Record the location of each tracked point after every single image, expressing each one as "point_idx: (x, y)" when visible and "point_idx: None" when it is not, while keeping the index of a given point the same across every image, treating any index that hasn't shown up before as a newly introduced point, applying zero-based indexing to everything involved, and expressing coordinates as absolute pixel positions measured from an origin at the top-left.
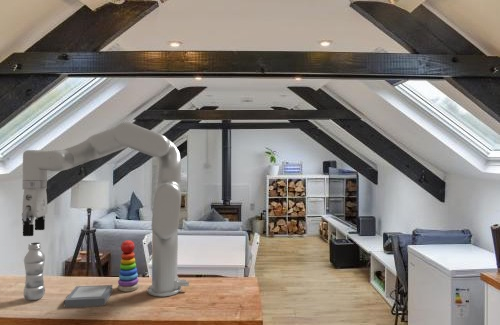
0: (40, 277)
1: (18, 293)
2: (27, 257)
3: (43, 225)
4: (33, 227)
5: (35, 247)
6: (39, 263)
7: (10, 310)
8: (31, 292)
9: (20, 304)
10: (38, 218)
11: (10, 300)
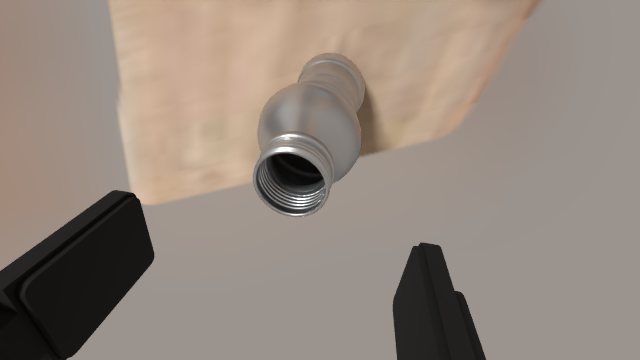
0: (340, 78)
1: None
2: (346, 172)
3: (98, 227)
4: (447, 326)
5: (327, 163)
6: (347, 99)
7: (411, 130)
8: (363, 94)
9: (370, 115)
10: (28, 355)
11: None
